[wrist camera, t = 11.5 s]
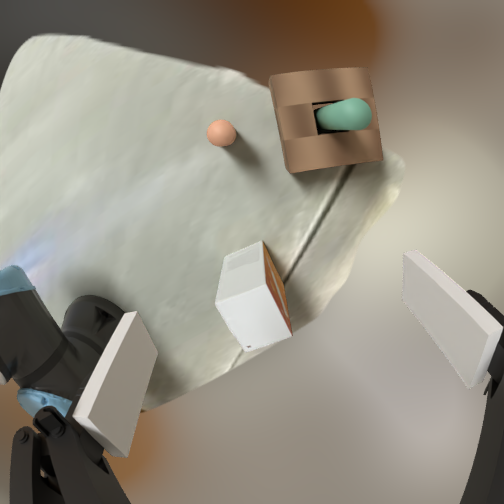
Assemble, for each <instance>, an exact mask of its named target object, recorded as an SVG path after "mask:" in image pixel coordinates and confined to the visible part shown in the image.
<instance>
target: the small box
mask: <svg viewBox="0 0 504 504" xmlns="http://www.w3.org/2000/svg"><path fill="white" fill-rule="evenodd" d="M215 306H216V307H217V309H218V311H219V313H220V314H221V316H222V317H223V319H224V321H225V322H226V324H227V326H228V328H229V329H230V331H231V333H232V334H233V335H234V337H235V338H236V339H237V341H238V342H239V344H240V345H241V347H242V348H243V350H244V351H245V352H249V351H252V350H255V349H259V348H262V347H264V346H267V345H270V344H273V343H276V342H279V341H281V340H284V339H286V338H289V337H292V336H293V335H292V330H291V324H290V319H289V313H288V307H287V301H286V296H285V289H284V284H283V282H282V280H281V278H280V276H279V274H278V272H277V270H276V268H275V266H274V264H273V262H272V260H271V258H270V255H269V253H268V251H267V249H266V247H265V245H264V242H263V241H259V242H257V243H255V244H252V245H250V246H248V247H245V248H243V249H241V250H238V251H236V252H234V253H231V254H229V255H227V256H225V257H224V261H223V266H222V271H221V275H220V280H219V285H218V290H217V295H216V300H215Z"/></svg>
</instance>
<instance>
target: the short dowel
mask: <svg viewBox="0 0 504 504" xmlns="http://www.w3.org/2000/svg"><path fill="white" fill-rule="evenodd" d="M207 137H208V140H209V141H210V142H211V143H212V144H213V145H215V146H228V145H230V144H232V143H233V142H234V141H235V139H236V131H235V129H234V127H233V126H232V124H231V123H229V122H228V121H226V120H216V121H214V122H213V123H211V124H210V126H209V127H208V130H207Z"/></svg>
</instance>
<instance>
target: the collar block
mask: <svg viewBox="0 0 504 504" xmlns="http://www.w3.org/2000/svg"><path fill="white" fill-rule="evenodd" d="M269 87H270V92H271V96H272V101H273V106H274V110H275V115H276V120H277V125H278V130H279V135H280V140H281V145H282V151H283V156H284V161H285V167H286V169H287V170H288V171H289V173H296V172H302V171H308V170H314V169H321V168H328V167H335V166H342V165H349V164H357V163H365V162H373V161H382V160H383V154H382V146H381V138H380V131H379V124H378V118H377V112H376V106H375V100H374V95H373V90H372V85H371V80H370V76H369V71H368V68H367V67H362V68H336V69H322V70H310V71H301V72H292V73H284V74H278V75H271V76H270V80H269ZM350 98H359V99H361V100H363V101H365V102H366V103H367V104H368V106H369V107H370V109H371V113H372V119H371V122H370V124H369V125H368V126H367V127H366V128H365V129H362V130H338V131H335V132H327V133H319V134H317V129H316V123H315V118H314V113H313V107H312V105H318V104H327V103H333V104H334V103H337V102H340V101H344V100H347V99H350Z"/></svg>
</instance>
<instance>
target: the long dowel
mask: <svg viewBox="0 0 504 504" xmlns="http://www.w3.org/2000/svg"><path fill="white" fill-rule="evenodd" d="M313 113H314V118H315V123H316V128H317V129H320V130H362V129H365V128H366V127H367V126H368V125H369V124H370V122H371V119H372V113H371V109H370V107H369V106H368V104H367V103H366V102H365V101H363V100H361V99H359V98H350V99H347V100H344V101H340V102H337V103H334V104H330V105H327V106H324V107H321V108H318V109H315V110H314V111H313Z"/></svg>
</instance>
